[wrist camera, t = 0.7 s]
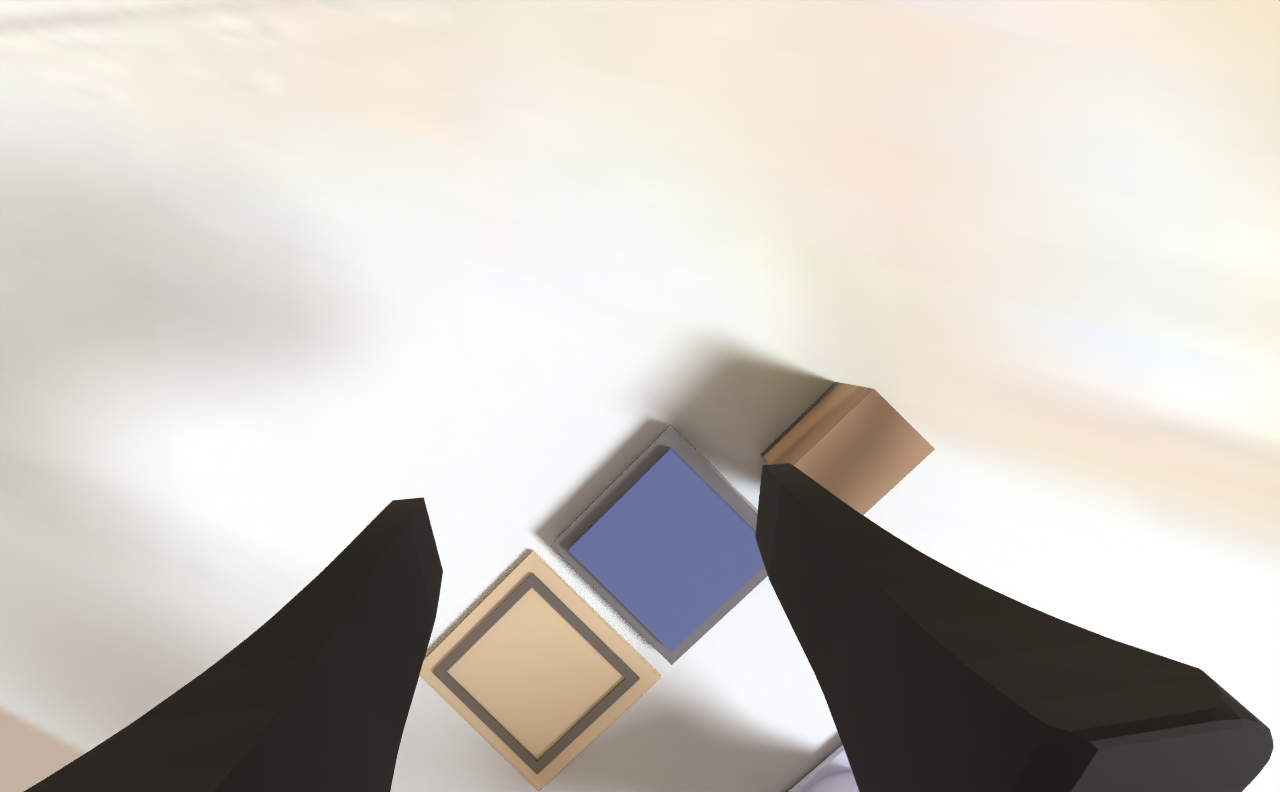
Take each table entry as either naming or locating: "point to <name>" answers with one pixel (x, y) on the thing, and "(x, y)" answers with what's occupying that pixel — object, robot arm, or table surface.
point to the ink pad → (668, 545)
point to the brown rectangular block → (851, 445)
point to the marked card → (537, 671)
